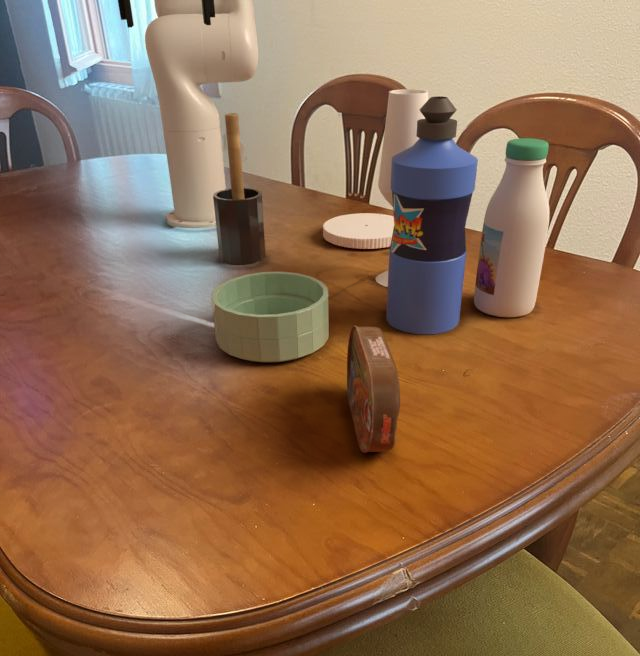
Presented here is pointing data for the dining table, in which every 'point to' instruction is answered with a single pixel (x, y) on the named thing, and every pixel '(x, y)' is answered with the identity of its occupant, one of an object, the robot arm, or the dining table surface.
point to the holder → (240, 227)
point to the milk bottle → (514, 234)
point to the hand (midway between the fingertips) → (169, 25)
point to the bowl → (271, 316)
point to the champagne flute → (398, 138)
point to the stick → (234, 155)
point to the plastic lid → (360, 230)
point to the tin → (372, 389)
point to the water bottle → (429, 225)
